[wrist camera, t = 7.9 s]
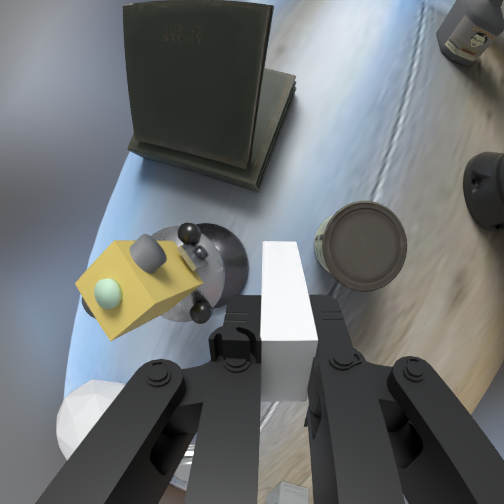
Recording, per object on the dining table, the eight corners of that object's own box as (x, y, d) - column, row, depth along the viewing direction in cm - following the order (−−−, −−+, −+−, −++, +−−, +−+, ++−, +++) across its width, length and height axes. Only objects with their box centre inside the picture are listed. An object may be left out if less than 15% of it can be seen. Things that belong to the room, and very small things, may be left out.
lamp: (74, 341, 47) (27, 424, 24) (234, 385, 55) (252, 479, 32) (75, 410, 51) (49, 484, 29) (206, 444, 59) (214, 522, 37)
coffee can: (387, 243, 44) (423, 244, 30) (345, 289, 45) (366, 310, 31) (343, 199, 44) (363, 182, 30) (300, 245, 46) (303, 248, 32)
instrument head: (213, 274, 32) (164, 294, 20) (159, 317, 33) (96, 351, 21) (182, 232, 33) (120, 228, 20) (132, 278, 34) (61, 293, 21)
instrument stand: (266, 274, 47) (250, 294, 29) (201, 322, 48) (158, 360, 31) (213, 206, 47) (171, 189, 30) (154, 258, 49) (93, 266, 32)
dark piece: (143, 158, 49) (51, 111, 25) (183, 70, 48) (125, -9, 23) (259, 193, 47) (223, 144, 22) (296, 93, 45) (294, -7, 20)
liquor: (433, 29, 39) (480, -53, 9) (465, 42, 38) (519, -29, 8) (441, 57, 39) (501, -27, 10) (473, 70, 38) (540, 1, 8)
